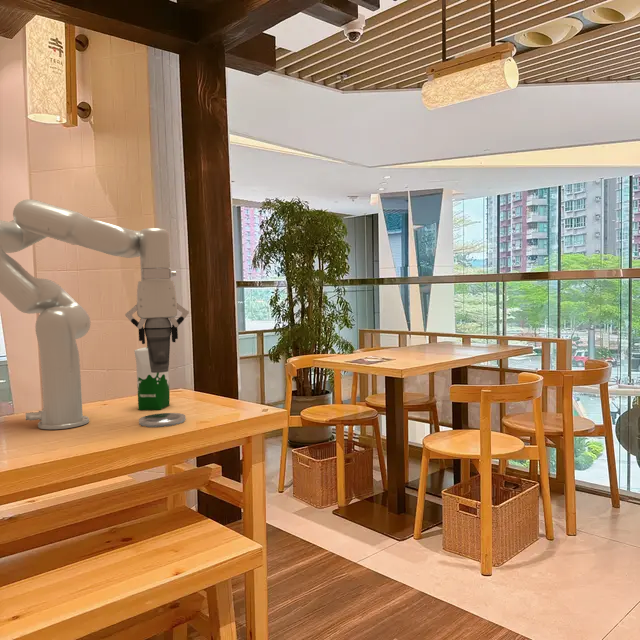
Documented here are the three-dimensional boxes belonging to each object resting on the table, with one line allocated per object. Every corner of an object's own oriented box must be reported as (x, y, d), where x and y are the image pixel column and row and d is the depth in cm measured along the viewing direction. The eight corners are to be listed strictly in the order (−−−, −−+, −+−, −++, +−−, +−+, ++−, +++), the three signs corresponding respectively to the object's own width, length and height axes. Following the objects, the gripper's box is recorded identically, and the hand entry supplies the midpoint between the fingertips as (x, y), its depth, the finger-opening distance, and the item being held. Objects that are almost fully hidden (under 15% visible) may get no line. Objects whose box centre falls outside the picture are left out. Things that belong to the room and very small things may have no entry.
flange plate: (139, 429, 151) (139, 424, 151) (138, 419, 163) (138, 415, 163) (187, 424, 155) (187, 419, 155) (183, 415, 167) (183, 411, 166)
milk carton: (173, 404, 183) (170, 340, 182) (162, 410, 174) (159, 342, 173) (146, 404, 184) (143, 340, 183) (133, 410, 176) (130, 343, 174)
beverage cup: (153, 369, 163) (150, 296, 162) (178, 369, 162) (175, 295, 161) (140, 373, 156) (137, 296, 155) (166, 373, 154) (163, 296, 153)
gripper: (187, 275, 163) (190, 340, 164) (121, 276, 158) (124, 343, 159) (190, 274, 156) (193, 342, 157) (121, 276, 151) (124, 345, 152)
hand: (158, 342), depth 158 cm, fingers closed on beverage cup, 7 cm apart
